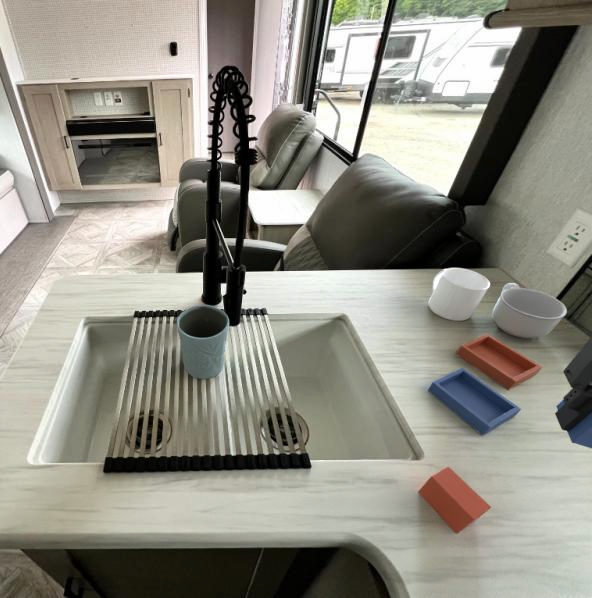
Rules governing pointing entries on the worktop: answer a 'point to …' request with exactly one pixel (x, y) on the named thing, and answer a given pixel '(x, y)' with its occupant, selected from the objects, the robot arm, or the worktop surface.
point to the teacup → (527, 312)
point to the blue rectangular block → (581, 430)
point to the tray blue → (473, 400)
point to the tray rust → (498, 361)
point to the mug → (457, 293)
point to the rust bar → (453, 499)
